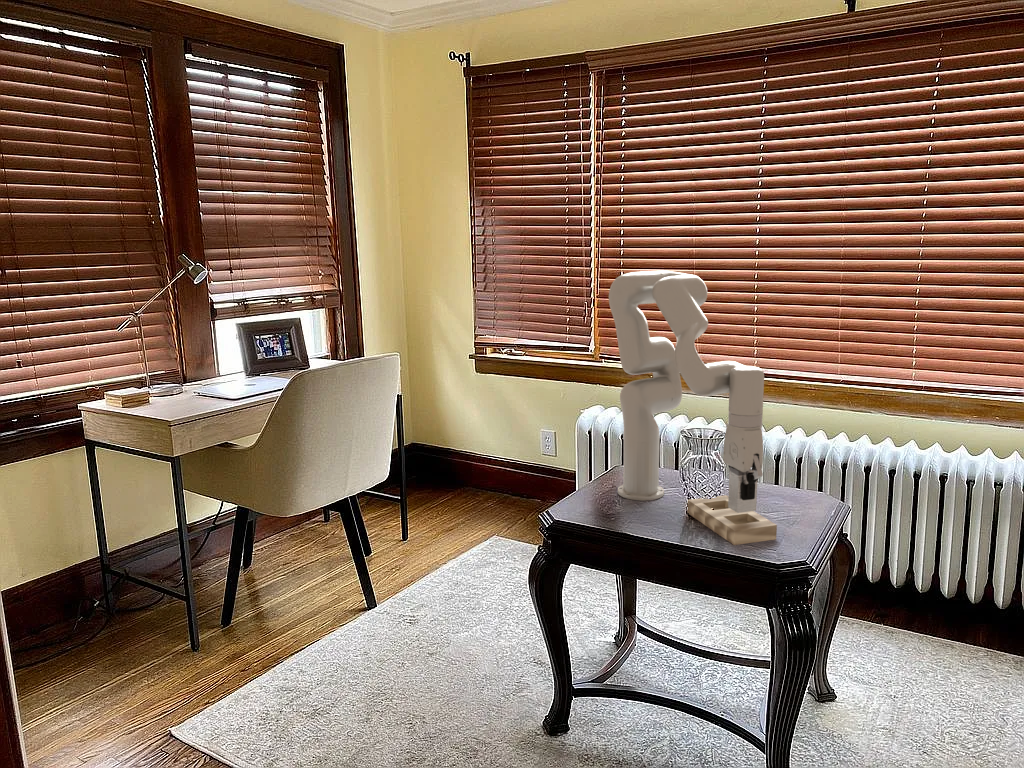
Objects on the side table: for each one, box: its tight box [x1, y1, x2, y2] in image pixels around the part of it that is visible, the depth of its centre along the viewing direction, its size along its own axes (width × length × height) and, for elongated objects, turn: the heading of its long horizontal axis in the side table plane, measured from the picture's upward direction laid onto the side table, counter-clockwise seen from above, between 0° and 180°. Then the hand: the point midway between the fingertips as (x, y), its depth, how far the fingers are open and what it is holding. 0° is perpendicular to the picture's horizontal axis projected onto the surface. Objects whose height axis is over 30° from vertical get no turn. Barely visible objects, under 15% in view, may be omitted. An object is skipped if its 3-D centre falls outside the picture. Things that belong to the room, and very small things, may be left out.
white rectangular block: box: [727, 466, 758, 513], centre depth 187 cm, size 4×5×10 cm
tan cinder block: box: [687, 495, 778, 546], centre depth 193 cm, size 22×11×4 cm, turn 16°
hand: (742, 495), depth 187 cm, fingers closed on white rectangular block, 4 cm apart
